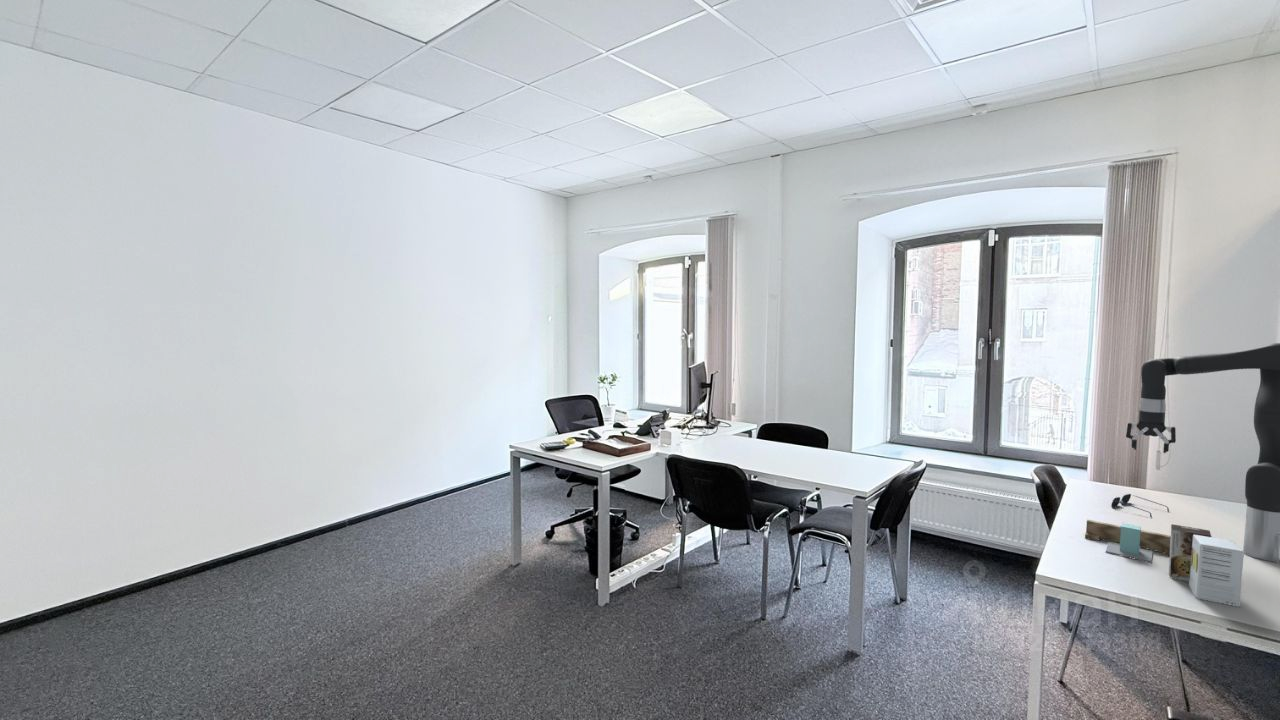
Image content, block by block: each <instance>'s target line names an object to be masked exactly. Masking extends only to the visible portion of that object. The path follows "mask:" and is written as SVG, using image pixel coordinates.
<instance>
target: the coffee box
mask: <svg viewBox="0 0 1280 720" xmlns="http://www.w3.org/2000/svg"><path fill="white" fill-rule="evenodd" d="M1193 535H1200V536H1206V537H1212V534H1211V531H1210V530H1208V529H1203V528H1198V527H1197V528H1196V527H1191V526H1185V525H1179V524H1172V523H1171V526H1170V536H1171V539H1170V556H1169V558H1168V559H1169V560H1168V562H1169V563H1168V577H1169V576H1170V577H1172V578H1171V579H1175V578H1176V579H1177V580H1181V581H1184V582H1190V569H1191V556H1192V542H1193ZM1212 538H1213V537H1212ZM1170 577H1169V578H1170ZM1176 579H1175V580H1176Z"/></svg>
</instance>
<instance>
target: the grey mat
mask: <svg viewBox="0 0 1280 720" xmlns="http://www.w3.org/2000/svg"><path fill="white" fill-rule="evenodd" d="M1153 551H1154V550H1149V549H1145V548H1140V549H1139V555H1136V554H1131V553H1127V552H1122V551H1120V543H1117V542H1112V541H1108V543H1107V546H1106V549H1105V553H1106V552H1107V553H1106V554H1110V553H1112V554H1111V555H1114V554H1117V555H1116V556H1119V555H1122V556H1121V557H1123V556H1126V557H1125V558H1128V557H1131V558H1130V559H1132V558H1135V559H1134V560H1137V559H1138V560H1137V561H1141V560H1142V562H1145V561H1147V562H1146V563H1150V562H1151V563H1152V560H1153V554H1152V553H1153Z"/></svg>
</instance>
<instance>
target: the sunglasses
mask: <svg viewBox="0 0 1280 720" xmlns="http://www.w3.org/2000/svg"><path fill="white" fill-rule="evenodd" d="M1131 496H1133V497H1135V498H1139V499H1142V500H1145V501H1147V502H1151V503H1154V504H1157V505H1159V506H1164V507H1166V509H1167V512H1168V511H1169V512H1170V510H1169V509H1170V508H1169V507H1168V506H1167V505H1164V504H1162V503H1158V502H1157V501H1153V500H1149V499H1146V498H1143V497H1140V496H1137V495H1132V494H1131V493H1127V494H1126V493H1125V494H1124V495H1123V496H1122V497H1120V496H1118V497H1114V498H1113V499H1112V502H1111V508H1114V507H1118V506H1119V504H1121V505H1126V506H1128V507H1132V508H1134V509H1137V510H1141V511H1144V512H1146V513H1148V514H1149V517H1152V518H1153V516H1152V513H1151V512H1150V511H1148V510H1145V509H1142V508H1140V507H1136V506H1134V505H1131V504H1127V503H1128V502H1129V501H1130V500H1131Z"/></svg>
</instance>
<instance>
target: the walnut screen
mask: <svg viewBox="0 0 1280 720" xmlns="http://www.w3.org/2000/svg"><path fill="white" fill-rule="evenodd" d="M1085 528H1086V529H1085V535H1084V539H1087V538H1089V539H1088V540H1091V539H1093V540H1092V541H1096V540H1097V542H1099V540H1102V539H1104V541H1107V540H1108V542H1112V541H1114V542H1113V543H1117V542H1119V543H1118V544H1120V537H1121V525H1117V524H1112V523H1106V522H1101V521H1096V520H1092V519H1086V527H1085ZM1170 539H1171V535H1169V534H1165V533H1164V534H1163V533H1157V532H1152V531H1148V530H1144V529H1143V530H1142V529H1141V533H1140V547H1143V548H1142V549H1145V548H1148V549H1147V550H1149V549H1152V550H1151V551H1154V550H1157V551H1156V552H1159V551H1160V552H1159V553H1163V554H1164V556H1167V557H1170Z"/></svg>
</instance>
